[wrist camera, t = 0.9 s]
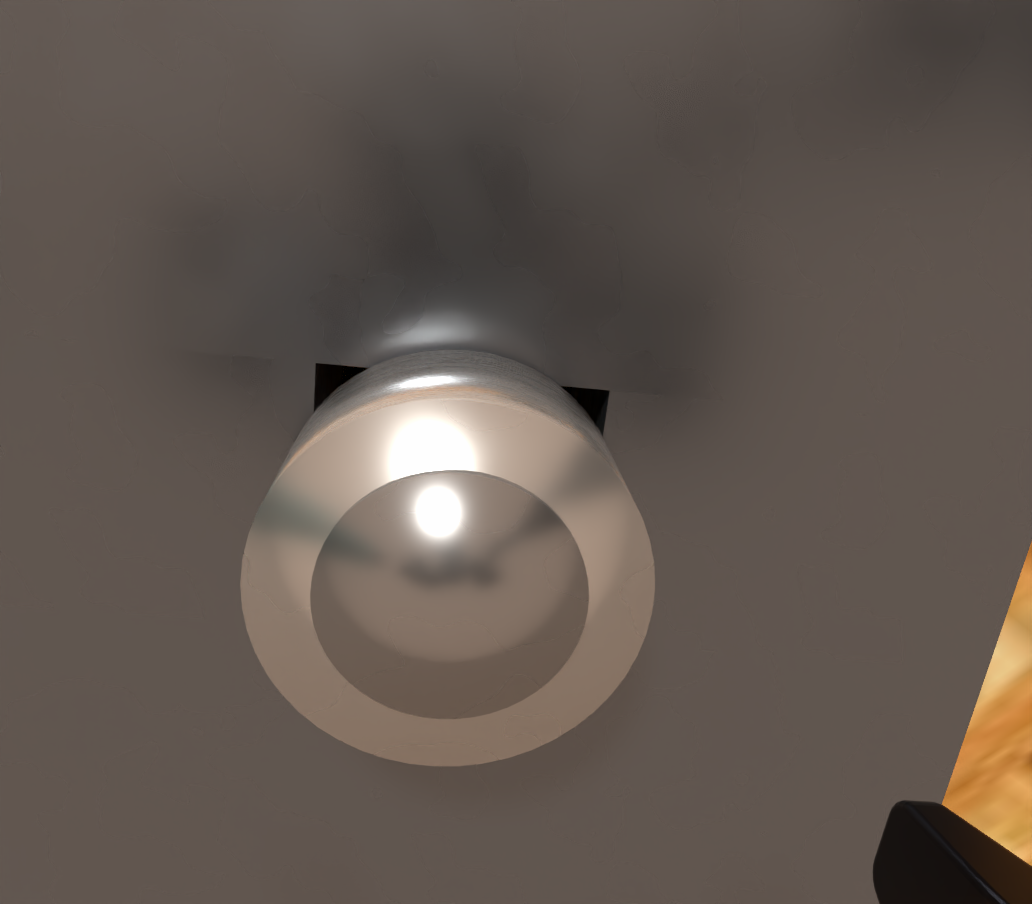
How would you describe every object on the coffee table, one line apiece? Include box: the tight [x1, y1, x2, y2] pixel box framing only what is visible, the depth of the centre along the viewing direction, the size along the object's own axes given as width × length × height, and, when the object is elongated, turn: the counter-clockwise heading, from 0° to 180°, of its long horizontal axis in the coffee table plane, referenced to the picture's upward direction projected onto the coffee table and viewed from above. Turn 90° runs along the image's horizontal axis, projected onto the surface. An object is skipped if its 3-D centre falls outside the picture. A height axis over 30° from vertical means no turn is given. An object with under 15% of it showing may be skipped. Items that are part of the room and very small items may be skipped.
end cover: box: [240, 349, 655, 766], centre depth 16 cm, size 6×6×7 cm
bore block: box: [0, 0, 1032, 904], centre depth 17 cm, size 22×22×4 cm
